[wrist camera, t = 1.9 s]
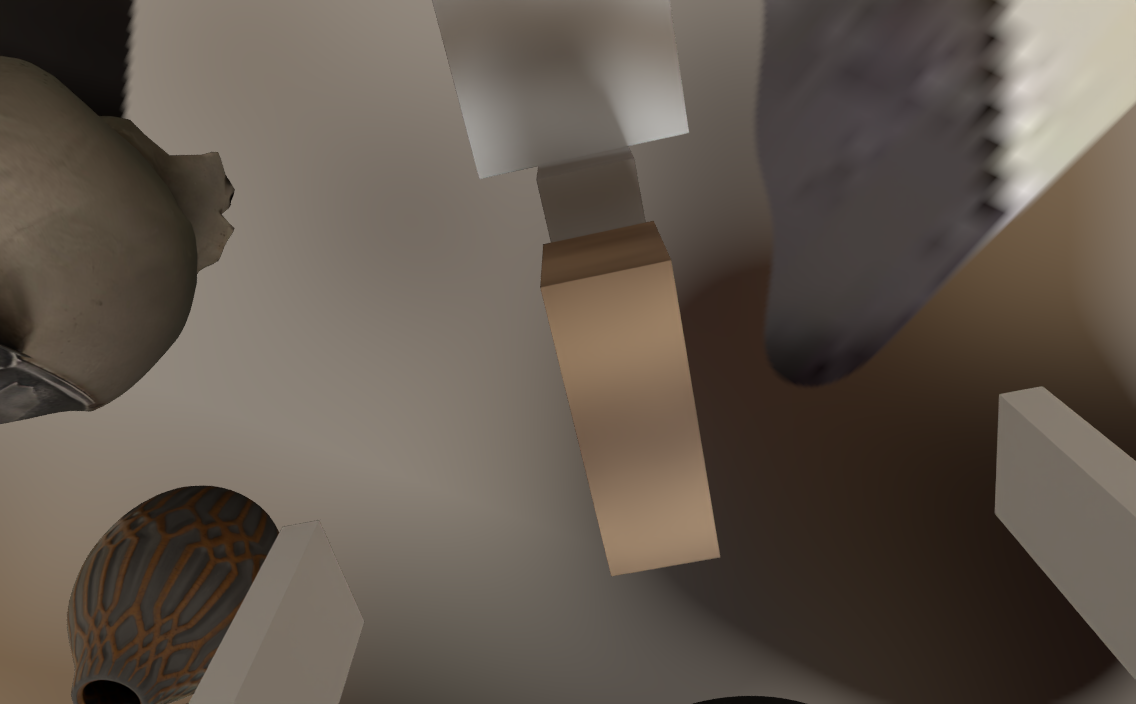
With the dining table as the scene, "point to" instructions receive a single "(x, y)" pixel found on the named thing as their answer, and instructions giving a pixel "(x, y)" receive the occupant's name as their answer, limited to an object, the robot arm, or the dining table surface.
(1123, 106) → the dining table surface
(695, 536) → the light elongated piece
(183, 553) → the vase
